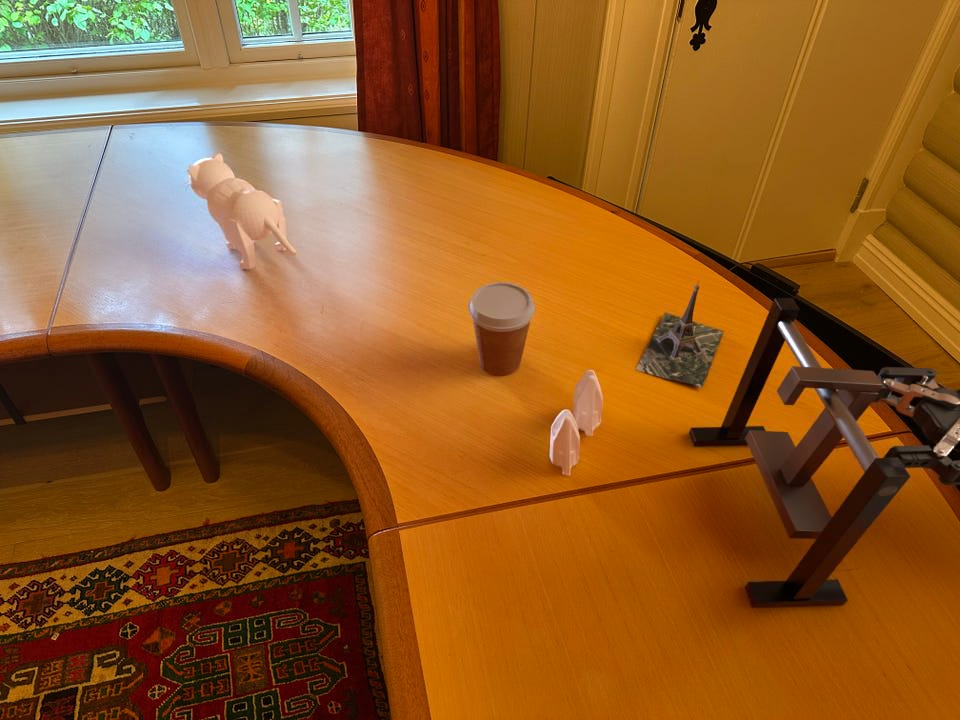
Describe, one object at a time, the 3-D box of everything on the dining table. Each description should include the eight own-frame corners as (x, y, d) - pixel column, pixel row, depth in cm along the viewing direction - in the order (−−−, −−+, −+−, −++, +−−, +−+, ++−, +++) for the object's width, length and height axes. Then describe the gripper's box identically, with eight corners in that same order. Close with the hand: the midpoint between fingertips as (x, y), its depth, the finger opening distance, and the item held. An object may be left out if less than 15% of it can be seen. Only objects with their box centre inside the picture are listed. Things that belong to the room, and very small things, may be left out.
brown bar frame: (782, 440, 76) (858, 331, 64) (832, 540, 66) (934, 434, 54) (706, 436, 75) (768, 325, 63) (745, 537, 65) (828, 428, 53)
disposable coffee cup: (517, 336, 98) (521, 274, 89) (540, 375, 91) (546, 313, 83) (461, 348, 95) (459, 287, 87) (480, 390, 89) (480, 327, 81)
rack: (843, 605, 65) (960, 477, 49) (752, 608, 65) (840, 480, 49) (760, 431, 83) (827, 296, 67) (688, 433, 83) (738, 297, 67)
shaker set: (579, 406, 86) (588, 348, 79) (606, 417, 85) (619, 360, 77) (540, 463, 79) (546, 406, 71) (569, 477, 77) (578, 420, 70)
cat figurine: (323, 260, 113) (306, 177, 102) (281, 288, 107) (257, 202, 96) (235, 222, 124) (210, 142, 112) (191, 245, 117) (160, 163, 106)
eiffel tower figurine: (702, 392, 88) (728, 321, 79) (635, 369, 92) (652, 299, 83) (723, 332, 98) (748, 264, 89) (661, 314, 102) (680, 246, 92)
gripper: (995, 348, 66) (849, 351, 66) (1095, 451, 56) (923, 455, 56) (958, 395, 72) (823, 398, 71) (1043, 497, 61) (886, 501, 61)
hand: (867, 423), depth 64 cm, fingers open, 8 cm apart
